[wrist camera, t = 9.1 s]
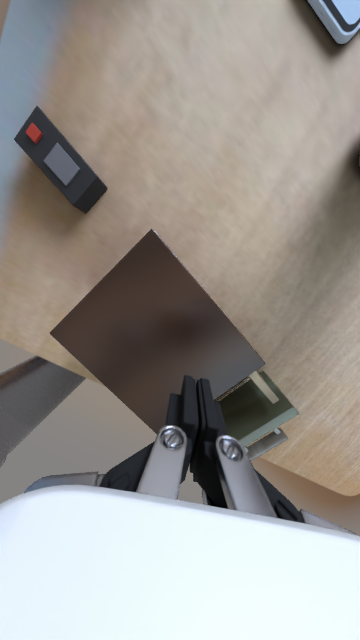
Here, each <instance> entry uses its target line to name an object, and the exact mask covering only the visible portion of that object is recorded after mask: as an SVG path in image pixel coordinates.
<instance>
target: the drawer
mask: <svg viewBox="0 0 360 640" xmlns="http://www.w3.org/2000/svg"><path fill="white" fill-rule="evenodd" d="M247 377H248V376H247ZM247 377H246V378H247ZM249 377H250V378H251V380H249V381H248V382H246V383H245V384H243V385H242V386H240V387H239V388H238V389H236V390H235V391H233V392H232V393H230V394H229V395H227V396H226V397H225V398H223V399H222V400H220V401H219V403H220V406H221V410H222V414H223V418H224V422H225V425H226V429H227V433H228V435H229V436H232V437H234V438H235V439H237V440H238V441H239V442H240V443H241V444H242V445H243V447H244V449H245V451H246V453H247V455H248V457H249V459H250V461H251V460H253V459H255V458H257V457H258V456H260V455H262V454H263V453H265V452H267V451H269V450H270V449H272V448H274V447H275V446H277V445H279V444H281V443H282V442H284V441H286V440H287V439H288V437H287V436H286V434H285V433H284V431H283V430H282V429H281V428H278V426H280V425H281V424H283V423H285V422H286V421H288V420H290V419H291V418H293V417H295V416H296V415H298V414H299V412H298V411H297V410H296V408H295V407H294V406H293V405H292V404H291V403H290V401H289V400H288V399H287V398H286V397H285V395H284V394H283V393H282V392H281V391H280V389H279V388H278V387H277V386H276V385H275V384H274V382H273V381H272V380H271V379H270V378H269V376H268V375H267V374H266V373H265V372H264V371H262V372H261V373H258V371H257V370H256V371H254V372H253V373H252V374H250V375H249ZM246 378H244V379H246ZM244 379H243V380H244ZM243 380H242V381H243ZM240 382H241V381H240ZM240 382H239V383H240ZM237 384H238V383H237ZM237 384H236V385H237ZM234 386H235V385H234ZM234 386H233V387H234ZM233 387H232V388H233ZM230 389H231V388H230ZM230 389H229V390H230ZM227 391H228V390H227ZM227 391H226V392H227ZM224 393H225V392H224ZM224 393H223V394H224ZM223 394H222V395H223ZM220 396H221V395H220ZM220 396H219V397H220ZM217 398H218V397H217ZM217 398H216V399H217ZM214 400H215V399H214ZM214 400H213V401H214ZM272 430H273V432H272V433H270V434H268V435H267V436H265V437H263V438H262V439H260V440H258V441H257V442H255V443H253V444H252V445H250V446H249V447H247V445H249V444H250V443H252V442H254V441H255V440H257V439H258V438H260V437H262V436H263V435H265V434H267V433H268V432H270V431H272Z"/></svg>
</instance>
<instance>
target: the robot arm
mask: <svg viewBox="0 0 360 640" xmlns="http://www.w3.org/2000/svg"><path fill="white" fill-rule="evenodd" d="M189 463H190V472H191V473H193V478H194V479H193V481H194V482H198V484H199V485H200V486H201V488H202V498H203V504H204V505H203V504H197V503H192V502H186V501H181V500H177V499H178V493H179V487H180V484H181V483H182V482H183V481H184V480H185V477H186V473H187V470H188V466H189ZM0 640H360V536H358V535H357V534H355V533H353V532H352V531H350V530H348V529H346V528H343V527H341V526H339V525H336V524H334V523H332V522H330V521H327V520H325V519H323V518H321V517H318V516H316V515H314V514H312V513H309V512H307V511H305V510H302V509H301V510H300V512H299V511H298V510H297V509H296V508H295V507H294V505H293V504H292V503H291V502H290V501H289V500H287V498H286V497H285V496H283V495H282V494H281V493H280V492H279V491H278V490H277V489H276V488H275V487H273V485H272V484H270V483H269V482H268V481H267V480H266V479H265V478H264V477H263V476H262V475H261V474H259V473H258V472H257V471H256V470H255V469H254V468H253V465H252V463H251V461H250V459H249V457H248V455H247V453H246V451H245V449H244V447H243V445H242V444H241V443H240V442H239V441H238V440H237V439H235V438H234V437H232V436H229V435H228V433H227V429H226V425H225V422H224V418H223V414H222V410H221V406H220V403H219V402H218V401H213V396H212V392H211V387H210V382H209V379H204V378H200V380H198V379H197V382H196V383H195V379H193V377H192V376H188V375H184V379H183V384H182V389H181V394H175V393H170V398H169V403H168V409H167V415H166V421H165V426H164V427H162V428H161V429H160V430H159V432H158V434H157V437H156V440H155V441H154V442H153V443H151V444H150V445H148V446H147V447H145V448H144V449H142V450H140V451H139V452H137V453H136V454H134V455H133V456H131V457H129V458H128V459H126V460H125V461H123V462H121V463H120V464H119V465H117V466H115V467H114V468H112V469H111V470H109V472H107V473H106V474H99V475H98V472H87V473H75V474H63V475H51V476H46V477H43V478H41V479H39V480H37V481H35V482H34V483H33V484H32V485H30V486H29V487H28V488H27V489H26V491H25V492H24V493H23V494H21V495H18V496H16V497H14V498H11V499H9V500H7V501H5V502H3V503H1V504H0Z"/></svg>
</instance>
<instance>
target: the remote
mask: <svg viewBox="0 0 360 640" xmlns="http://www.w3.org/2000/svg"><path fill="white" fill-rule="evenodd" d="M14 140H15V141H16V142H17V143H18V144H19V146H20V147H21V148H22V149H23V150H24V151H25V152H26V153H27V154H28V156H29V157H30V158H31V159H32V160H33V161H34V162H35V163H36V164H37V166H38V167H39V168H40V169H41V170H42V171H43V172H44V173H45V174H46V176H47V177H48V178H49V179H50V180H51V181H52V182H53V183H54V184H55V186H56V187H57V188H58V189H59V190H60V191H61V192H62V193H63V194H64V196H65V197H66V198H67V199H68V200H69V201H70V202H71V203H72V204H73V205H74V206H75V207H77V208H78V209H80V210H81V211H83V212H84V213H87V212H88V211H89V210H90V208H91V207H92V206H93V205H94V204H95V203H96V201H97V200H98V199H99V198H100V197H101V196H102V195H103V193H104V192H105V191H106V190H107V187H106V186H105V184H104V183H103V182H102V181H101V180H100V179H99V177H98V176H97V175H96V174H95V173H94V171H93V170H92V169H91V168H90V167H89V166H88V164H87V163H86V162H85V161H84V160H83V159H82V157H81V156H80V155H79V154H78V153H77V151H76V150H75V149H74V148H73V147H72V146H71V144H70V143H69V142H68V141H67V140H66V139H65V137H64V136H63V135H62V134H61V133H60V131H59V130H58V129H57V128H56V127H55V126H54V124H53V123H52V122H51V121H50V120H49V119H48V117H47V116H46V115H45V114H44V113H43V112H42V111H41V109H40V108H39V107H38V106H36V108H35V109H34V111H33V112H32V114H31V115H30V117H29V118H28V119H27V121H26V122H25V124H24V125H23V127H22V128H21V130H20V131H19V132H18V134H17V135H16V137H15V138H14Z"/></svg>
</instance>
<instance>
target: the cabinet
mask: <svg viewBox="0 0 360 640" xmlns="http://www.w3.org/2000/svg"><path fill="white" fill-rule="evenodd" d="M50 334H51V335H52V336H53V337H54V338H55V339H56V340H57V341H58V342H59V343H60V344H61V345H62V346H63V347H65V348H66V349H67V350H68V351H69V352H70V353H71V354H72V355H73V356H74V357H75V358H76V359H77V360H78V361H79V362H80V363H82V364H83V365H84V366H85V367H86V368H87V369H88V370H89V371H90V372H91V373H92V374H93V375H94V376H95V377H96V378H98V379H99V380H100V381H101V382H102V383H103V384H104V385H105V386H106V387H107V388H108V389H109V390H110V391H111V392H113V393H114V394H115V395H116V396H117V397H118V398H119V399H120V400H121V401H122V402H123V403H124V404H125V405H126V406H127V407H128V408H129V409H131V410H132V411H133V412H134V413H135V414H136V415H137V416H138V417H139V418H140V419H141V420H142V421H144V423H146V424H147V425H148V426H149V427H150V428H151V429H152V430H153V431H154V432H155V433H156V434H158V432H159V430H160V429H161V428H162V427H164V426H165V421H166V415H167V409H168V403H169V398H170V393H175V394H181V389H182V384H183V379H184V375H188V376H192V377H193V379H195V383H196V382H197V379H198V380H200V378H204V379H209V382H210V387H211V392H212V396H213V400H214V399H216V398H217V397H219V396H220V395H222V394H223V393H224V392H226V391H227V390H229V389H230V388H232V387H233V386H234V385H236V384H237V383H239V382H240V381H242V380H243V379H244V378H246V377H247V376H249V375H250V374H252V373H253V372H254V371H256V370H257V369H259V368H260V367H262V366H263V365H264V364H265V362H264V361H263V360H262V358H261V357H260V356H259V355H258V354H257V352H256V351H255V350H254V349H253V348H252V347H251V345H250V344H249V343H248V342H247V341H246V339H245V338H244V337H243V336H242V335H241V333H240V332H239V331H238V330H237V329H236V327H235V326H234V325H233V324H232V323H231V321H230V320H229V319H228V318H227V317H226V316H225V314H224V313H223V312H222V311H221V310H220V308H219V307H218V306H217V305H216V304H215V302H214V301H213V300H212V299H211V298H210V296H209V295H208V294H207V293H206V292H205V290H204V289H203V288H202V287H201V286H200V285H199V283H198V282H197V281H196V280H195V279H194V277H193V276H192V275H191V274H190V273H189V271H188V270H187V269H186V268H185V267H184V265H183V264H182V263H181V262H180V261H179V259H178V258H177V257H176V256H175V255H174V254H173V252H172V251H171V250H170V249H169V248H168V246H167V245H166V244H165V243H164V242H163V240H162V239H161V238H160V237H159V236H158V234H157V233H156V232H155V231H154V230H153V229H151V230H150V231H149V232H148V233H147V234H146V235H145V236H144V237H143V238H142V239H141V240H140V241H139V242H138V243H137V244H136V245H135V246H134V247H133V248H132V249H131V250H130V251H129V252H128V253H127V254H126V255H125V257H124V258H123V259H122V260H121V261H120V262H119V263H118V264H117V265H116V266H115V267H114V268H113V269H112V270H111V271H110V272H109V273H108V274H107V275H106V276H105V277H104V278H103V279H102V280H101V281H100V282H99V283H98V284H97V285H96V286H95V287H94V288H93V289H92V290H91V291H90V292H89V293H88V294H87V295H86V296H85V297H84V298H83V299H82V300H81V301H80V302H79V303H78V304H77V305H76V306H75V308H74V309H73V310H72V311H71V312H70V313H69V314H68V315H67V316H66V317H65V318H64V319H63V320H62V321H61V322H60V323H59V324H58V325H57V326H56V327H55V328H54V329H53V330H52V331H51V332H50Z"/></svg>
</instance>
